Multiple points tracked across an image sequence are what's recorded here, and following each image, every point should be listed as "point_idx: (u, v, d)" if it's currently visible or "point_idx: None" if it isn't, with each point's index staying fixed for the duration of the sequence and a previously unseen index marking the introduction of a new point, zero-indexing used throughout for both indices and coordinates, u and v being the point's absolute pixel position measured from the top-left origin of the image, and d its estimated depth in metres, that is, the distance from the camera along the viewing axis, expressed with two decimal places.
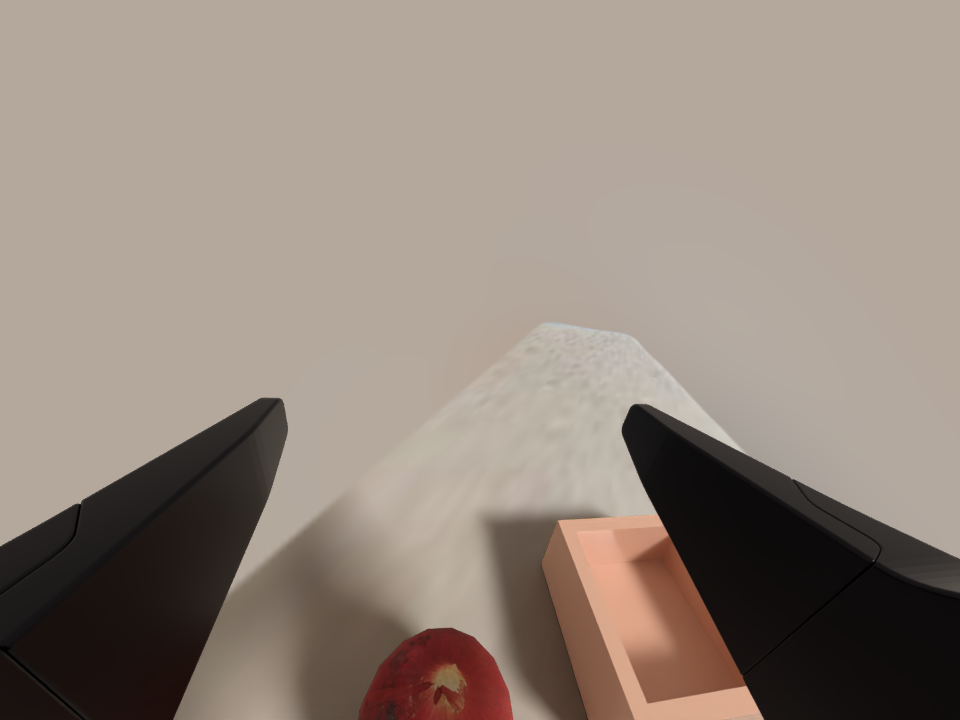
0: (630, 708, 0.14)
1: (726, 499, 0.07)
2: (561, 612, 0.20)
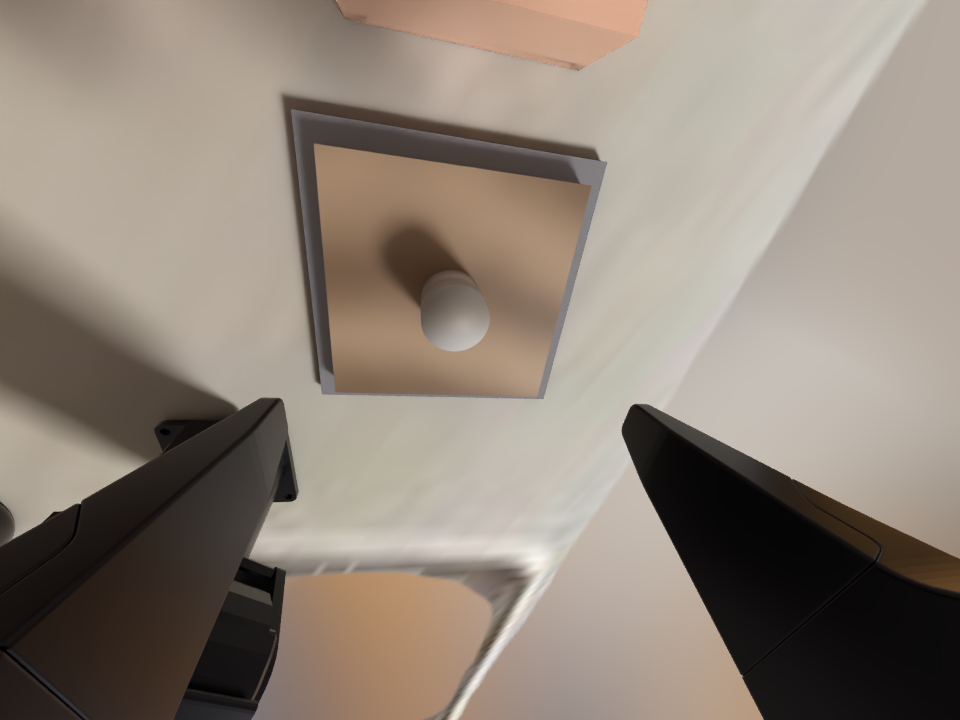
0: None
1: (726, 499, 0.07)
2: None
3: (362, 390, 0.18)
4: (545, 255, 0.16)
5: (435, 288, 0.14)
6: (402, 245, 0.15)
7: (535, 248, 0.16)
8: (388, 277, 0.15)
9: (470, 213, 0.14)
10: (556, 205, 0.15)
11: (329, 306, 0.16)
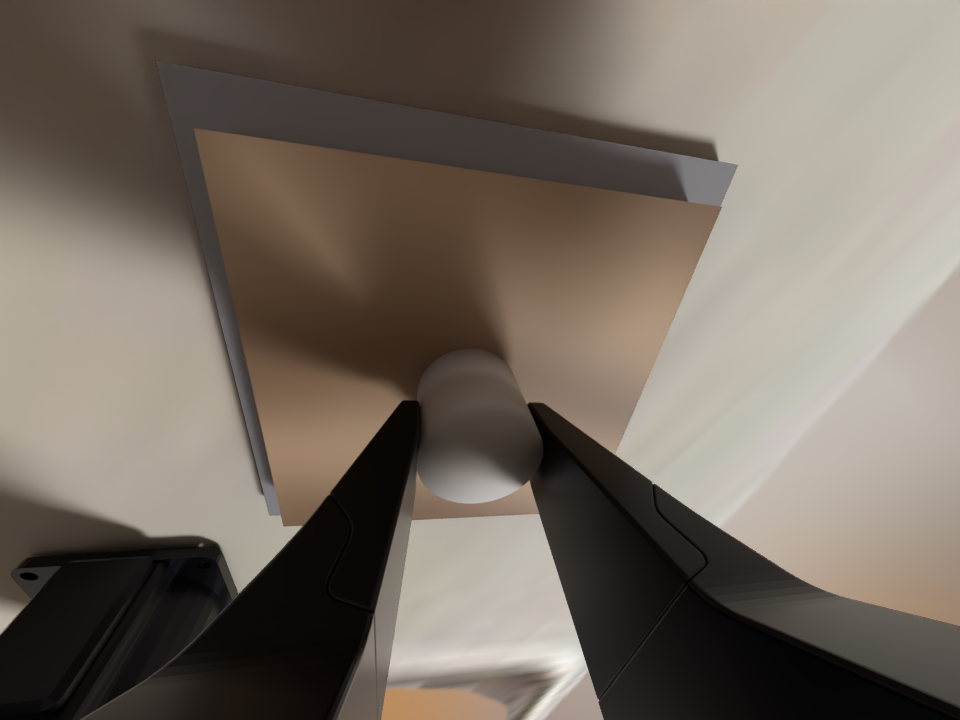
0: None
1: (585, 506, 0.06)
2: None
3: None
4: (627, 322, 0.09)
5: (444, 401, 0.07)
6: (383, 314, 0.08)
7: (612, 311, 0.09)
8: (361, 364, 0.09)
9: (506, 258, 0.08)
10: (656, 241, 0.08)
11: (260, 412, 0.09)
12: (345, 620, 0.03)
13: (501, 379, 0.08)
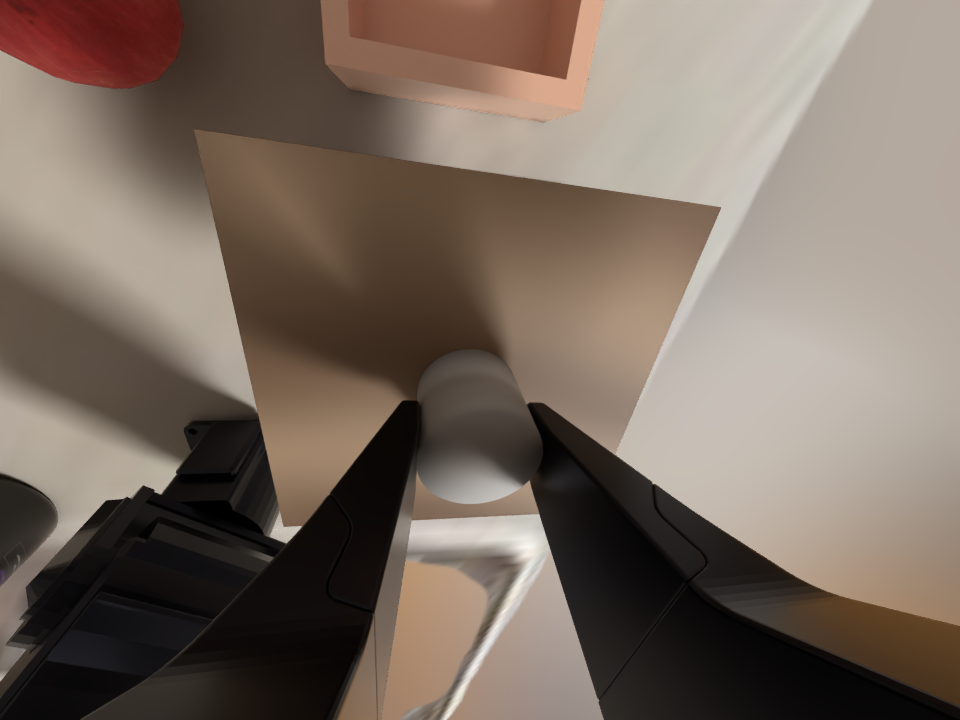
0: (324, 33, 0.11)
1: (585, 506, 0.06)
2: None
3: None
4: (627, 322, 0.09)
5: (443, 402, 0.07)
6: (383, 314, 0.08)
7: (612, 312, 0.09)
8: (360, 365, 0.09)
9: (505, 258, 0.08)
10: (656, 242, 0.08)
11: (260, 413, 0.09)
12: (345, 619, 0.03)
13: (501, 379, 0.08)
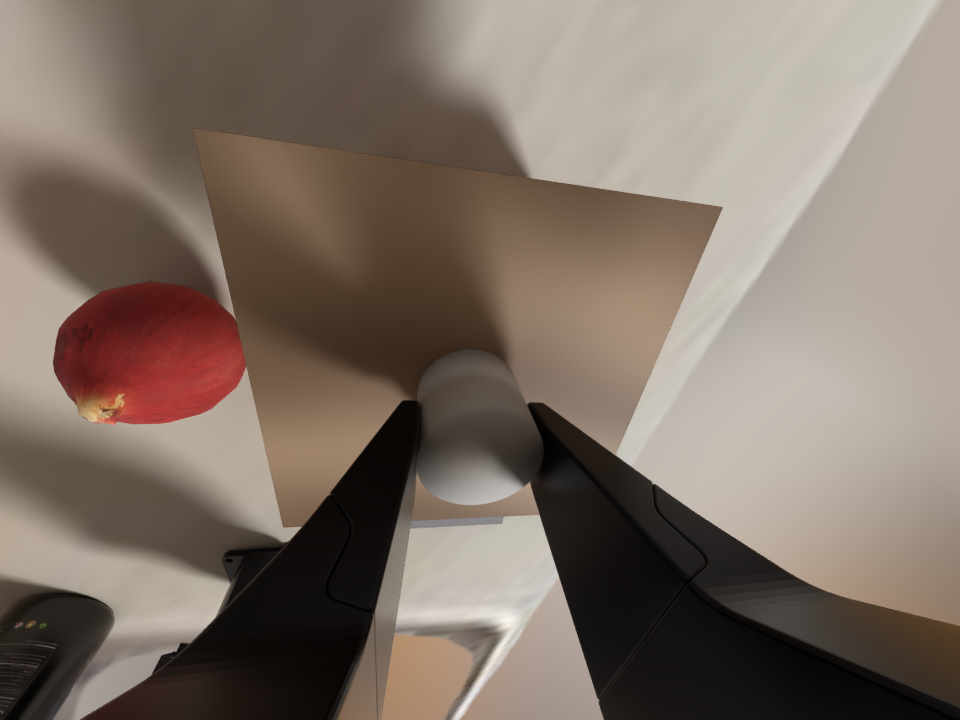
0: None
1: (585, 506, 0.06)
2: None
3: None
4: (628, 322, 0.09)
5: (444, 403, 0.07)
6: (383, 315, 0.08)
7: (613, 312, 0.09)
8: (360, 365, 0.09)
9: (506, 258, 0.08)
10: (657, 242, 0.08)
11: (260, 413, 0.09)
12: (346, 619, 0.03)
13: (501, 380, 0.08)
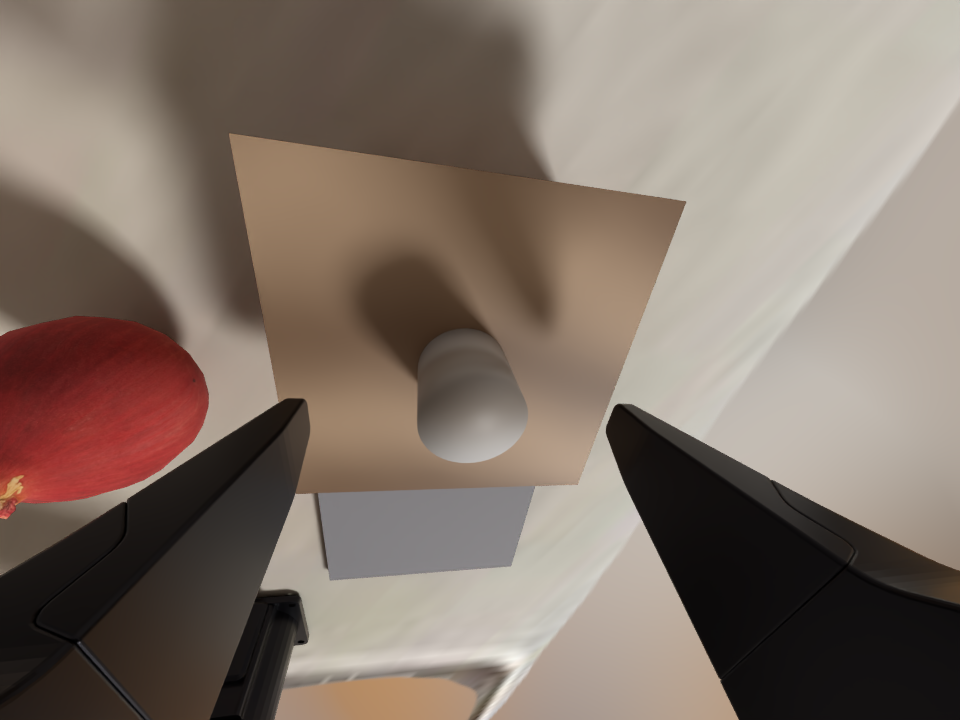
0: None
1: (704, 500, 0.07)
2: None
3: (335, 489, 0.13)
4: (605, 305, 0.10)
5: (441, 370, 0.09)
6: (388, 296, 0.09)
7: (592, 295, 0.10)
8: (367, 342, 0.10)
9: (496, 246, 0.09)
10: (629, 232, 0.09)
11: (278, 385, 0.10)
12: (29, 652, 0.03)
13: (491, 353, 0.09)
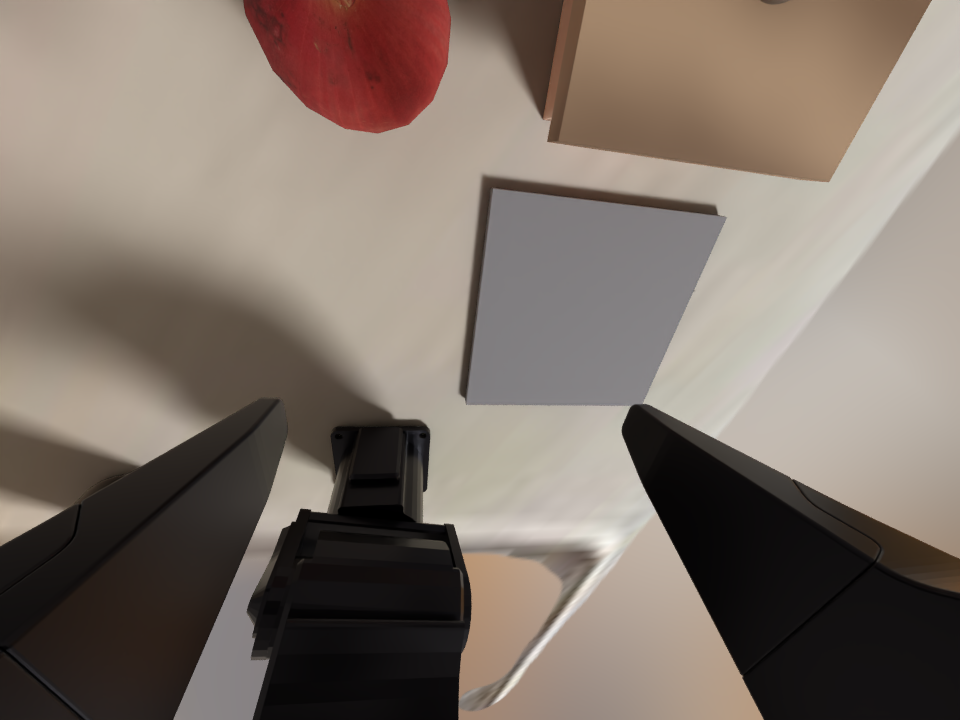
0: None
1: (726, 499, 0.07)
2: None
3: (598, 141, 0.11)
4: None
5: None
6: None
7: None
8: None
9: None
10: None
11: None
12: None
13: None
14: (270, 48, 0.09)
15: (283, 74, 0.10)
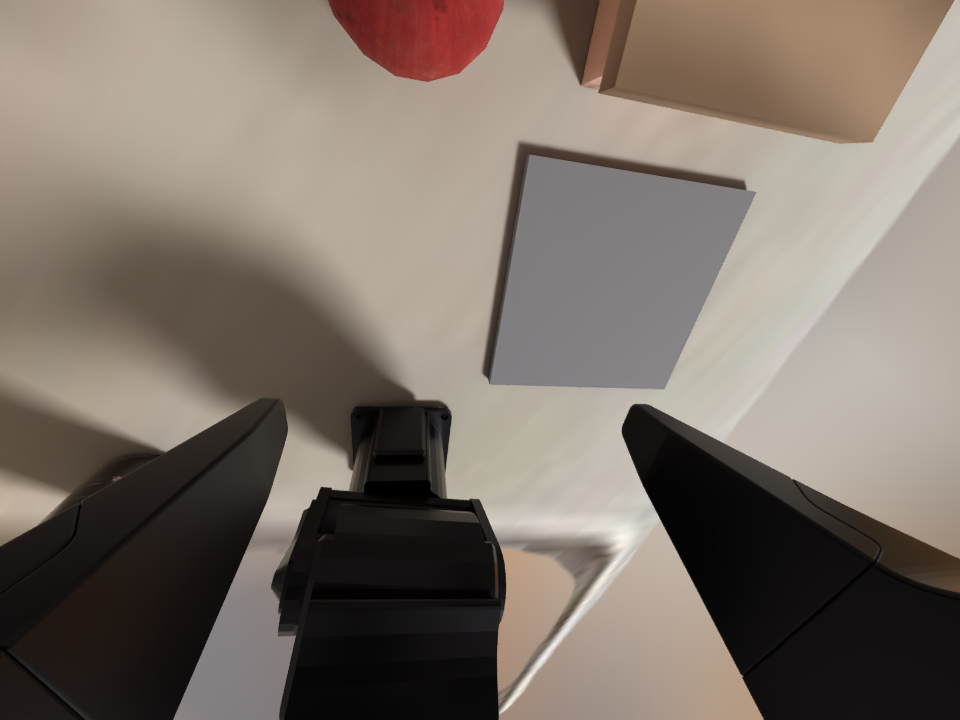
0: None
1: (726, 499, 0.07)
2: None
3: (653, 88, 0.11)
4: None
5: None
6: None
7: None
8: None
9: None
10: None
11: None
12: None
13: None
14: None
15: (344, 6, 0.10)
